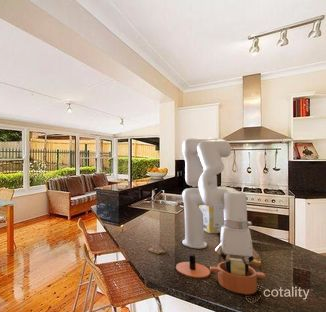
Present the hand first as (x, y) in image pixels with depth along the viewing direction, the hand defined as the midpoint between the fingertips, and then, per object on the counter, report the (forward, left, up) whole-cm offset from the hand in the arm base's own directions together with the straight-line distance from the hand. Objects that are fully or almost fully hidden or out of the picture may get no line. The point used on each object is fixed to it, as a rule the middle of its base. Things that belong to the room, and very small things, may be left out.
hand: (236, 271), depth 88 cm
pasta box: (-72, +4, -6) cm, 72 cm away
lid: (-7, -15, -5) cm, 17 cm away
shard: (-25, -32, -6) cm, 41 cm away
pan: (0, 0, -5) cm, 5 cm away
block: (0, 0, 0) cm, 0 cm away
